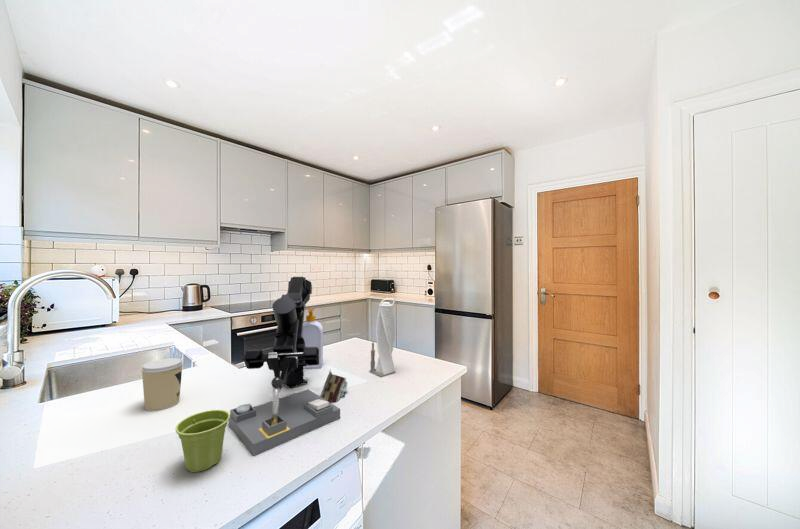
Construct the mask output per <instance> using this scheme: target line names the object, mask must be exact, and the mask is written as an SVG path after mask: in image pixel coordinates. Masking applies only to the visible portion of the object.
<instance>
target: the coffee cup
mask: <svg viewBox="0 0 800 529" xmlns="http://www.w3.org/2000/svg"><path fill="white" fill-rule="evenodd" d="M183 364H184V361H183V360H182V359H181V358H177V357H171V358H170V357H169V358H167V357H166V358H162V359H161V358H160V359H156V360H155V359H154V360H153V361H152V360H151V361H148V362H146V363H144V364H143V365H142V367H141V369H140V370H141V373H142V374H141V376H142V387H143V400H144V408H145V410H146V411H148V412H149V411H150V412H155V411H156V412H157V411H162V410H166V409H169V408H172V407H174V406H176V405H178V404H179V402H180V397H181V384H182V377H183V376H182V375H183V374H182V372H183Z"/></svg>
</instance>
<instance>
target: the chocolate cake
mask: <svg viewBox="0 0 800 529" xmlns="http://www.w3.org/2000/svg"><path fill="white" fill-rule="evenodd" d="M347 386H348V381H347V378H346V377H343V376H340V375H336V374H333V373H332V371H331V368H330V369H329V372H328V375H327V377H326V380H325V382H324V384H323V388H322V390H321V393H320V395H319V396H320V397H322V398H323V399H325V400H327V401H328V402H330V403H332V404H333V403H334V404H335V403H337V402H339V400H340V399H342V398H345V393H346V391H347Z"/></svg>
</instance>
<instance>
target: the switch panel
mask: <svg viewBox="0 0 800 529" xmlns="http://www.w3.org/2000/svg"><path fill="white" fill-rule="evenodd" d="M317 399H320V400H324V401H327V400H325V399H323V398H322V397H320V395H318V394H317V393H315V392H313V391H312V390H310V389H309V388H307V389H305V390H302V391H299V392H298V391H297V392H296V393H292V394H289V395H286V396H283V397H279V410H278V424H275V425H272V426H271V419H272V405H273V400H271V401H268V402H265V403H261V404H258V405H256V406H252V404H251V403H248V405H250V412H247V413H244V414H241V415H237V413H236V412H237V407H235V408H232V409H230V410H229V411H230V412H229V414H230V419H229V420H228V422H227V426H229V427H230V429H231V430H232V431H233V432H234V434H235V435H236V436H237V437H238V439H239V440H240V442H242V444H243V445H244V446H245V447H246V449H247V450H248V451H249V452H250V454H251V455H252V456H256V455H258V454H261V453H264V452H265V451H268V450H270V449H273V448H275V447H277V446H280V445H281V444H284V443H285V442H286V443H287V442H289V441H292V440H293V439H296V438H297V437H300V436H303V435H305V434H307V433H309V432H311V431H313V430H316V429H318V428H321V427H323V426H325V425H327V424H331V423H332V422H334V421H337V420H339V419H341V408H340V407H338V406H336V405H335V404H333V402H329V406H327V407H324V408H322V409H319V410H316V409H313V408H311V407H310V406H308V403H309V402H312V401H314V400H317ZM327 402H328V401H327Z"/></svg>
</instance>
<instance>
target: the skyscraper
mask: <svg viewBox="0 0 800 529" xmlns="http://www.w3.org/2000/svg"><path fill="white" fill-rule="evenodd" d="M386 300H393V301H392V303H391V302H389V301H386ZM395 302H396V298H395V297H387V298H386V297H385V298H384V299H382V300H381V302H380V303H379V304H378V311H377V316H376V324H375V340H376V347H377V353H378V358H377V362H376V361H375V358H376V357H375V356H376V354H375V353H376V352H375V351H376V350H375V342H371V349H370V370H369V371H368V372H369V373H370V374H373V375H376V376H377V377H380V378H383V377H387V376H389V375H393V374H396V369H395V365H394V364H395V363H394V360H393V355H392V354H393V351H394V346H395V341H396V335H397V334H396V332H397V327H396V326H397V323H396V322H397V321H396V317H395V315H396V314H395V311H394V305H395ZM376 363H377V364H376Z"/></svg>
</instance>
